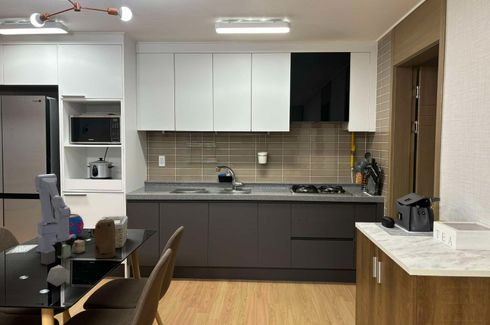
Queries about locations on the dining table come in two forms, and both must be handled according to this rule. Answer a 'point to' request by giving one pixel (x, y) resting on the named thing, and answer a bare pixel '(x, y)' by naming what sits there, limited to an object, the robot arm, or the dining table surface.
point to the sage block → (65, 251)
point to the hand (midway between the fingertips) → (64, 254)
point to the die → (57, 275)
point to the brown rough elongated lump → (104, 239)
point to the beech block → (78, 246)
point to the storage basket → (119, 229)
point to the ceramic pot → (75, 224)
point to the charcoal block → (48, 256)
